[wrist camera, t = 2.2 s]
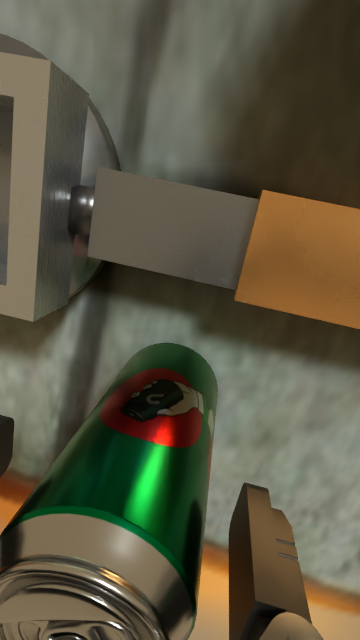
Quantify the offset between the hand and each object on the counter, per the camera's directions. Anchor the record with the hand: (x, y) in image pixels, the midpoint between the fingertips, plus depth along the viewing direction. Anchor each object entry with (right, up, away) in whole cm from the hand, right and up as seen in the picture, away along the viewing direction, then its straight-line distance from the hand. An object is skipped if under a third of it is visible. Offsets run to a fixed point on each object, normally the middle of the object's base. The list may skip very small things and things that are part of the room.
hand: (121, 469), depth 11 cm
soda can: (+2, +2, +7) cm, 8 cm away
